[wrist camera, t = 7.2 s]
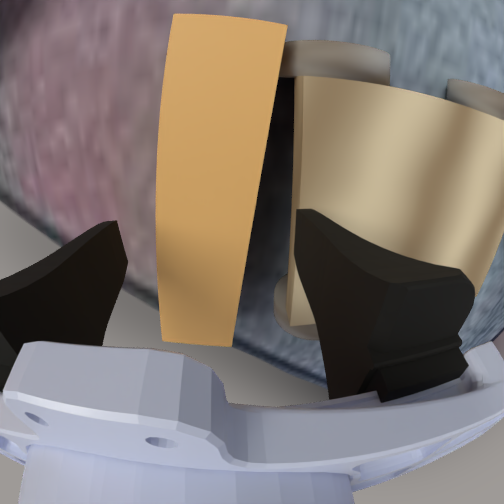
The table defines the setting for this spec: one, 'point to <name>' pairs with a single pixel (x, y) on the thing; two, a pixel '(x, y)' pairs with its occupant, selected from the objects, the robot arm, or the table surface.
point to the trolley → (391, 165)
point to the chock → (211, 168)
